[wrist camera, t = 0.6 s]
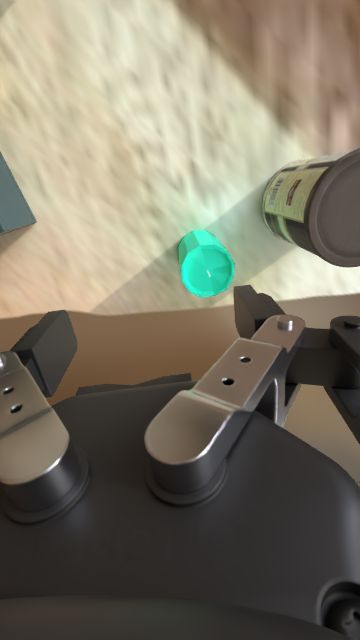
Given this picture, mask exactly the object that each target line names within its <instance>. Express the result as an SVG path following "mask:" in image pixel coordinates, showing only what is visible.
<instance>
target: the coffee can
mask: <svg viewBox="0 0 360 640" xmlns="http://www.w3.org/2000/svg"><path fill="white" fill-rule="evenodd" d="M262 213H263V218H264V221H265V224H266V226H267V227H268V229H269V230H270V231H271V232H272V233H273V234H274V235H275V236H276V237H278V238H280V239H282V240H285V241H288V242H290V243H292V244H294V245H296V246H299V247H301V248H303V249H305V250H307V251H309V252H311V253H313V254H315V255H317V256H319V257H320V258H322V259H323V260H325V261H327V262H328V263H330V264H333V265H336V266H340V267H357V266H360V148H359V149H356V150H353V151H349V152H344V153H338V154H333V155H328V156H322V157H317V158H311V159H301V160H297V161H294V162H291V163H289V164H288V165H286V166H284V167H283V168H282V169H280V170H279V171H278V172H277V173H276V174H275V175H274V177H273V178H272V179H271V181H270V182H269V184H268V186H267V188H266V191H265V193H264V197H263V202H262Z"/></svg>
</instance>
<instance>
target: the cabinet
mask: <svg viewBox="0 0 360 640" xmlns="http://www.w3.org/2000/svg"><path fill="white" fill-rule="evenodd" d="M35 222H37V221H36V219H35V217H34V215H33V214H32V212H31V210H30V208H29V206H28V204H27V202H26V200H25V198H24V196H23V194H22V192H21V191H20V189H19V187H18V185H17V183H16V181H15V179H14V177H13V175H12V173H11V171H10V169H9V167H8V166H7V164H6V162H5V160H4V158H3V156H2V154H1V152H0V235H3V234H6V233H8V232H11V231H14V230H16V229H19V228H22V227H25V226H27V225H30V224H33V223H35Z"/></svg>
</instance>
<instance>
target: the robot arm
mask: <svg viewBox="0 0 360 640" xmlns="http://www.w3.org/2000/svg"><path fill="white" fill-rule="evenodd" d="M234 310H235V323H236V328H237V331H238V333H239V335H240V337H239V338H237V339H236V340H235V342H234V343H233V344H232V345H231V346H230V347H229V348H228V349H227V350H226V352H225V353H224V354H223V355H222V356H221V357H220V358H219V359H218V360H217V361H216V363H215V364H214V365H213V366H212V367H211V368H210V369H209V370H208V372H207V373H206V374H205V375H204V376H203V377H202V378H201V379H200V380H199V381H192V380H191V373H188V374H179V375H171V376H164V377H160V378H157V379H153V380H150V381H146V382H143V383H140V384H137V385H117V384H102V385H94V386H86V387H79V389H78V391H77V394H76V396H73V397H70V398H68V399H65V400H63V401H61V402H59V403H57V404H55V405H53V406H52V407H50V405H49V403H48V402H47V400H46V397H52V396H53V394H54V393H55V391H56V389H57V387H58V385H59V383H60V381H61V379H62V377H63V376H64V373H65V372H66V370H67V368H68V366H69V364H70V362H71V360H72V358H73V357H74V355H75V353H76V350H77V339H76V336H75V334H74V331H73V328H72V324H71V321H70V319H69V316H68V313H67V312H66V311H65V310H59V311H52V312H48V313H47V314H46V315H45V316H44V317H43V318H42V319H41V320H40V321H39V323H38V324H36V325H35V326H33V327H32V328H30V329H29V330H28V331H27V332H26V333H25V334H24V336H23V337H22V338H21V339H20V341H18V342H17V343H16V344H15V345H14V347H13V348H12V349H11V350H10V351H6V352H1V353H0V640H360V482H355V480H354V479H353V478H352V477H351V476H350V475H349V474H348V473H347V472H346V471H345V470H344V469H343V468H342V467H341V466H340V465H339V464H337V463H336V462H335V461H333V460H332V459H330V458H329V457H327V456H326V455H324V454H323V453H321V452H320V451H318V450H317V449H315V448H313V447H312V446H310V445H309V444H307V443H305V442H304V441H302V440H301V439H299V438H298V437H296V436H295V435H293V434H291V433H290V432H288V431H287V430H285V429H284V423H285V420H286V417H287V415H288V413H289V410H290V408H291V406H292V404H293V402H294V400H295V398H296V396H297V393H298V391H299V389H300V387H301V384H310V385H320V386H324V389H325V391H326V392H327V394H328V395H329V397H330V398H331V400H332V402H333V403H334V405H335V406H336V408H337V410H338V411H339V413H340V414H341V416H342V417H343V419H344V421H345V422H346V424H347V425H348V427H349V428H350V430H351V431H352V433H353V435H354V436H355V438H356V439H357V441H358V443H359V444H360V317H357V316H340V317H337V318H334V319H332V320H331V322H330V329H314V328H306V327H305V322H304V320H303V319H301V318H299V317H297V316H292V315H286V314H285V313H284V311H283V310H282V309H281V308H280V307H279V306H278V304H277V303H276V302H275V301H274V300H273V299H272V297H271V296H268V295H266V294H264V293H259V294H257V293H256V292H255V290H254V289H253V288H252V286H251V285H244V286H236V287H234Z"/></svg>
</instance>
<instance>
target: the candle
mask: <svg viewBox="0 0 360 640" xmlns="http://www.w3.org/2000/svg"><path fill="white" fill-rule="evenodd" d="M178 253H179V264H180V271H181V279H182V282H183V283H184V285H185V286H186V288H187V289H188V291H189V292H191V293H193V294H195V295H197V296H199V297H207V296H215V295H217V294H219V293H221V292H223V291H225V290H227V288H228V286H229V285H230V283H231V281H232V279H233V277H234V267H235V263H234V262H233V260H232V258H231V256H230V255H229V253H228V251H227V250H226V249H225V248H224V247H223V245H222V244H221V243H220V242H219V241H218V240H217V238H216V237H215V236H214V235H212V234H210V233H209V232H207V231H205V230H197V231H192V232H190V233H189V234H187V235H186V236H184V237H183V239H182V241H181V243H180V245H179V247H178Z"/></svg>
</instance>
